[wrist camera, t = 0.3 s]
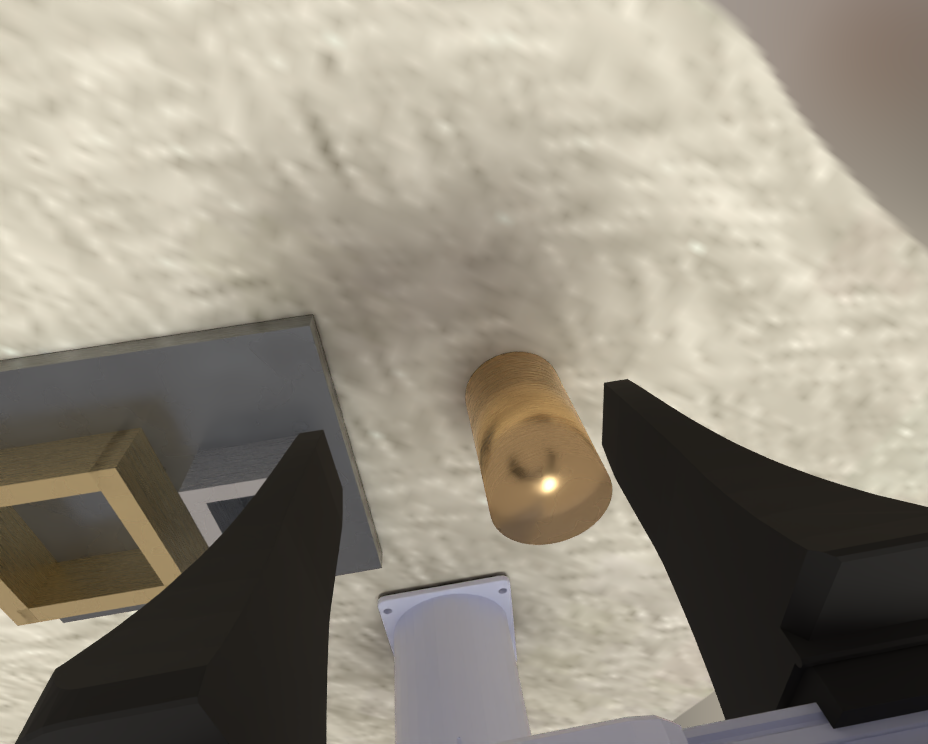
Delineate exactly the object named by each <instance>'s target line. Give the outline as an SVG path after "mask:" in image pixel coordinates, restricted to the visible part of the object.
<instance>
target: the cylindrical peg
mask: <svg viewBox="0 0 928 744" xmlns="http://www.w3.org/2000/svg"><path fill="white" fill-rule="evenodd" d="M465 400H466V405H467V410H468V414H469V419H470V424H471V428H472V433H473V437H474V442H475V446H476V451H477V456H478V460H479V465H480V469H481V474H482V479H483V483H484V488H485V492H486V497H487V501H488V506H489V511H490V515H491V519H492V521H493V524H494V525H495V527H496V528H497V529H498V530H499V531H500V532H501V533H502V534H503V535H504V536H506V537H508V538H510V539H512V540H514V541H517V542H520V543H525V544H533V545H543V544H552V543H557V542H561V541H564V540H567V539H570V538H572V537H575V536H577V535H579V534H581V533H582V532H584V531H585V530H587V529H588V528H590V527H591V526H592V525H594V524H595V523H596V522H597V521H598V520H599V519H600V518H601V516H602V515H603V514H604V513H605V511H606V510H607V508H608V506H609V504H610V501H611V497H612V483H611V480H610V477H609V475H608V473H607V471H606V469H605V467H604V465H603V463H602V461H601V459H600V457H599V455H598V454H597V452H596V450H595V448H594V446H593V444H592V442H591V440H590V438H589V436H588V434H587V432H586V430H585V428H584V426H583V424H582V422H581V420H580V418H579V416H578V414H577V412H576V410H575V409H574V407H573V405H572V403H571V401H570V399H569V397H568V395H567V393H566V391H565V389H564V387H563V385H562V383H561V381H560V379H559V377H558V375H557V373H556V371H555V370H554V368H553V367H552V366H551V365H550V363H549V362H547V361H546V360H545V359H543V358H542V357H540V356H537V355H535V354H531V353H527V352H509V353H505V354H501V355H498V356H496V357H494V358H491V359H490V360H488V361H486V362H485V363H484V364H482V365H481V366H480V367H479V368H478V369H477V370H476V371H475V372H474V374H473V375H472V376H471V378H470V380H469V382H468V384H467V388H466V393H465Z"/></svg>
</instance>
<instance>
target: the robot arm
mask: <svg viewBox="0 0 928 744" xmlns="http://www.w3.org/2000/svg"><path fill="white" fill-rule="evenodd" d="M602 446H603V448H604V451H605V454H606V456H607V459H608V461H609V464H610V466H611V469H612V471H613V474H614V476H615V478H616V480H617V482H618V484H619V485H620V487H621V489H622V491H623V493H624V494H625V496H626V498H627V500H628V502H629V503H630V505H631V507H632V509H633V510H634V512H635V514H636V516H637V517H638V519H639V521H640V523H641V524H642V526H643V528H644V530H645V531H646V533H647V535H648V537H649V538H650V540H651V542H652V544H653V545H654V547H655V549H656V551H657V553H658V555H659V557H660V559H661V561H662V562H663V564H664V567H665V569H666V571H667V573H668V576H669V578H670V580H671V583H672V585H673V587H674V589H675V592H676V594H677V596H678V599H679V601H680V603H681V606H682V608H683V611H684V613H685V615H686V618H687V620H688V623H689V625H690V627H691V630H692V632H693V635H694V637H695V640H696V642H697V645H698V647H699V650H700V653H701V655H702V658H703V660H704V663H705V665H706V668H707V671H708V673H709V676H710V678H711V681H712V684H713V686H714V689H715V692H716V695H717V697H718V700H719V703H720V706H721V708H722V711H723V714H724V717H725V720H724V721H719V722H714V723H709V724H704V725H699V726H694V727H688V728H683V729H682V728H681V725H679V724H677V723H675V722H673V721H670V720H667V719H664V718H661V717H658V716H655V715H650V716H634V717H624V718H619V719H614V720H609V721H604V722H598V723H593V724H588V725H583V726H578V727H573V728H568V729H563V730H557V731H552V732H547V733H542V734H537V735H532V736H531V731H530V726H529V721H528V717H527V712H526V707H525V702H524V697H523V692H522V688H521V683H520V678H519V673H518V668H517V664H516V662H517V653H516V642H515V631H514V620H513V609H512V598H511V587H510V581H509V578H508V577H507V576H504V575H502V576H495V577H489V578H484V579H478V580H472V581H466V582H461V583H455V584H449V585H444V586H438V587H432V588H426V589H421V590H415V591H409V592H404V593H398V594H392V595H386V596H382V597H381V598H379V600H378V609H379V612H380V615H381V618H382V621H383V625H384V628H385V631H386V634H387V637H388V640H389V643H390V646H391V649H392V652H393V655H394V676H395V744H928V507H925V506H921V505H917V504H913V503H908V502H904V501H900V500H896V499H892V498H887V497H883V496H879V495H875V494H871V493H868V492H864V491H861V490H857V489H854V488H851V487H847V486H844V485H840V484H837V483H834V482H831V481H828V480H825V479H822V478H819V477H816V476H813V475H810V474H808V473H805V472H802V471H799V470H797V469H794V468H791V467H789V466H786V465H783V464H781V463H778V462H776V461H774V460H771V459H769V458H766V457H764V456H762V455H760V454H758V453H755V452H753V451H751V450H749V449H746V448H744V447H742V446H740V445H738V444H736V443H734V442H732V441H730V440H728V439H726V438H724V437H722V436H720V435H719V434H717V433H715V432H713V431H711V430H709V429H707V428H706V427H704V426H702V425H700V424H699V423H697V422H695V421H694V420H692V419H690V418H688V417H687V416H685V415H684V414H682V413H680V412H679V411H677V410H675V409H674V408H672V407H671V406H669V405H667V404H666V403H664V402H663V401H661V400H660V399H658V398H657V397H655V396H654V395H652V394H650V393H649V392H647V391H646V390H644V389H643V388H641V387H640V386H638V385H636V384H635V383H633V382H632V381H630V380H628V379H625V380H619V381H613V382H607V383H604V402H603V429H602ZM342 522H343V488H342V485H341V482H340V479H339V476H338V473H337V470H336V467H335V464H334V460H333V457H332V454H331V451H330V448H329V445H328V442H327V439H326V436H325V433H324V430H317V431H311V432H305V433H299V434H298V436H297V437H296V438H295V440H294V441H293V442H292V444H291V445H290V447H289V448H288V449H287V451H286V452H285V454H284V455H283V457H282V458H281V460H280V461H279V462H278V464H277V465H276V467H275V468H274V469H273V471H272V472H271V474H270V475H269V476H268V478H267V479H266V480H265V482H264V483H263V485H262V486H261V487H260V489H259V490H258V491H257V493H256V494H255V495H254V497H253V498H252V499H251V500H250V502H249V503H248V504H247V505H246V507H245V508H244V509H243V510H242V511H241V513H240V514H239V515H238V516H237V518H236V519H235V520H234V521H233V522H232V523H231V525H230V526H229V527H228V528H227V529H226V530H225V531H224V532H223V533H222V535H221V536H220V537H219V538H218V539H217V540H216V541H215V542H214V543H213V544H212V545H211V546H210V547H209V548H208V549H207V550H206V551H205V552H204V553H203V554H202V555H201V556H200V557H199V558H198V559H197V560H196V561H195V562H194V563H193V564H192V565H190V566H189V567H188V568H187V569H186V570H185V571H184V572H183V573H182V574H181V575H179V576H178V577H177V578H176V579H175V580H174V581H173V582H172V583H171V584H169V585H168V586H167V587H166V588H165V589H164V590H163V591H162V592H160V593H159V594H158V595H157V596H156V597H154V598H153V599H152V600H151V601H149V602H148V603H147V604H146V605H144V606H143V607H142V608H141V609H139V610H138V611H137V612H136V613H134V614H133V615H132V616H130V617H129V618H128V619H126V620H125V621H124V622H123V623H121V624H120V625H119V626H117V627H116V628H114V629H113V630H112V631H110V632H109V633H108V634H106V635H105V636H103V637H102V638H100V639H99V640H98V641H96V642H95V643H93V644H92V645H90V646H89V647H87V648H86V649H85V650H83V651H82V652H80V653H79V654H77V655H76V656H74V657H73V658H72V659H70V660H69V661H67V662H66V663H64V664H63V665H61V666H60V667H58V668H56V669H55V671H54V673H53V674H52V676H51V678H50V680H49V681H48V683H47V685H46V687H45V689H44V690H43V692H42V694H41V696H40V698H39V700H38V702H37V703H36V705H35V707H34V709H33V711H32V713H31V715H30V717H29V718H28V720H27V722H26V724H25V726H24V728H23V730H22V732H21V733H20V735H19V737H18V739H17V741H16V743H15V744H326V710H327V664H328V639H329V621H330V611H331V603H332V596H333V589H334V582H335V575H336V568H337V561H338V554H339V547H340V540H341V532H342Z"/></svg>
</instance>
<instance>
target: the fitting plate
mask: <svg viewBox="0 0 928 744" xmlns="http://www.w3.org/2000/svg"><path fill="white" fill-rule="evenodd" d="M317 430H324V433H325V436H326V439H327V442H328V445H329V448H330V451H331V454H332V457H333V460H334V464H335V467H336V470H337V473H338V476H339V479H340V482H341V485H342V488H343V522H342V532H341V540H340V547H339V554H338V561H337V568H336V575H335V576H338V575H344V574H350V573H355V572H361V571H367V570H373V569H379V568H382V551H381V548H380V544H379V541H378V538H377V534H376V531H375V527H374V524H373V520H372V517H371V513H370V510H369V507H368V503H367V500H366V496H365V493H364V489H363V486H362V482H361V479H360V476H359V472H358V469H357V465H356V462H355V458H354V455H353V451H352V448H351V445H350V441H349V438H348V434H347V431H346V427H345V424H344V420H343V417H342V414H341V410H340V407H339V403H338V400H337V396H336V393H335V389H334V386H333V383H332V379H331V376H330V372H329V369H328V365H327V362H326V358H325V355H324V352H323V348H322V345H321V341H320V338H319V334H318V331H317V327H316V324H315V321H314V317H313V315H306V316H300V317H293V318H286V319H279V320H273V321H266V322H259V323H252V324H246V325H239V326H232V327H225V328H219V329H212V330H205V331H198V332H192V333H185V334H178V335H171V336H165V337H158V338H151V339H144V340H138V341H131V342H124V343H117V344H111V345H104V346H97V347H90V348H84V349H77V350H70V351H63V352H57V353H50V354H43V355H36V356H30V357H23V358H16V359H9V360H3V361H0V608H1V609H2V610H3V611H4V612H5V613H6V614H7V615H8V616H9V617H10V618H11V619H12V620H13V621H14V622H15V623H16V624H17V625H18V626H19V625H25V624H31V623H36V622H42V621H48V620H54V619H60V620H61V621H62V622H63V623H65V622H71V621H77V620H83V619H88V618H94V617H100V616H106V615H112V614H117V613H123V612H129V611H135V610H139V609H141V608H142V607H143V606H144V605H146V604H147V603H148V602H149V601H151V600H152V599H153V598H154V597H156V596H157V595H158V594H159V593H160V592H162V591H163V590H164V589H165V588H166V587H167V586H168V585H169V584H171V583H172V582H173V581H174V580H175V579H176V578H177V577H178V576H179V575H181V574H182V573H183V572H184V571H185V570H186V569H187V568H188V567H189V566H190V565H192V564H193V563H194V562H195V561H196V560H197V559H198V558H199V557H200V556H201V555H202V554H203V553H204V552H205V551H206V550H207V549H208V548H209V547H210V546H211V545H212V544H213V543H214V542H215V541H216V540H217V539H218V538H219V537H220V536H221V535H222V533H223V532H224V531H225V530H226V529H227V528H228V527H229V526H230V525H231V523H232V522H233V521H234V520H235V519H236V518H237V516H238V515H239V514H240V513H241V511H242V510H243V509H244V508H245V507H246V505H247V504H248V503H249V502H250V500H251V499H252V498H253V497H254V495H255V494H256V493H257V491H258V490H259V489H260V487H261V486H262V485H263V483H264V482H265V480H266V479H267V478H268V476H269V475H270V474H271V472H272V471H273V469H274V468H275V467H276V465H277V464H278V462H279V461H280V460H281V458H282V457H283V455H284V454H285V452H286V451H287V449H288V448H289V447H290V445H291V444H292V442H293V441H294V440H295V438H296V437H297V436H298V434H299V433H305V432H311V431H317Z"/></svg>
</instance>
